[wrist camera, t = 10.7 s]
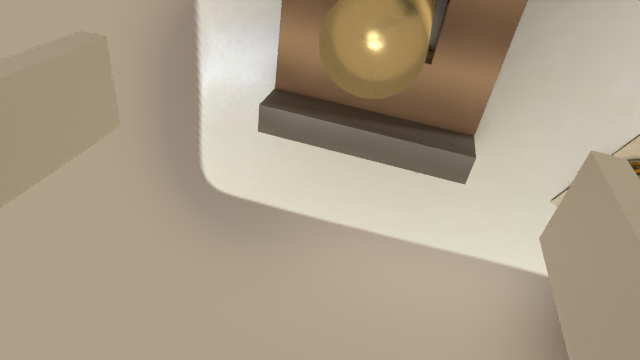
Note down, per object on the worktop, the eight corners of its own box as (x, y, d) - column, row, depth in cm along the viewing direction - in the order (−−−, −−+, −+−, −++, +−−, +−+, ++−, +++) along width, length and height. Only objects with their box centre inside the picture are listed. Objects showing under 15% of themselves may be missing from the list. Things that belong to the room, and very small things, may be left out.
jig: (308, -136, 25) (273, -144, 20) (553, -96, 23) (579, -95, 18) (286, 98, 34) (257, 131, 29) (463, 141, 32) (465, 184, 27)
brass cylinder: (373, -51, 27) (327, -22, 17) (446, -37, 26) (442, 0, 16) (359, 24, 29) (312, 86, 20) (426, 38, 29) (411, 109, 19)
